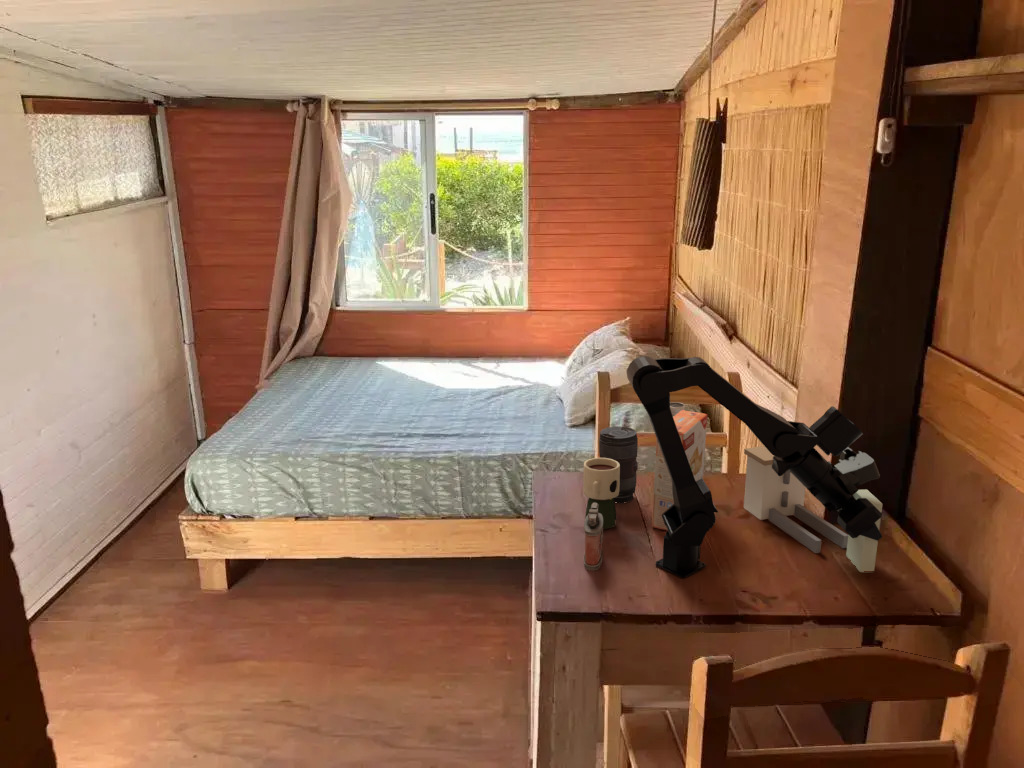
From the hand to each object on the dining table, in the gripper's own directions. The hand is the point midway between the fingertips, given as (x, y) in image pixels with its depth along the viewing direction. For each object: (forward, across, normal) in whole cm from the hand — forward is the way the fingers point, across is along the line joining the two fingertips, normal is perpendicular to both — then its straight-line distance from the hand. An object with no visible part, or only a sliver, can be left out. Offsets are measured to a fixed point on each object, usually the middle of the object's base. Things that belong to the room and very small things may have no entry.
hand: (871, 530), depth 137 cm
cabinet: (-1, +15, +10) cm, 18 cm away
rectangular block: (+4, 0, +6) cm, 7 cm away
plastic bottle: (-15, +32, +25) cm, 43 cm away
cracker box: (-16, +19, +26) cm, 36 cm away
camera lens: (-24, +30, +34) cm, 51 cm away
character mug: (-28, +17, +37) cm, 49 cm away
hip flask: (-30, +3, +39) cm, 49 cm away
